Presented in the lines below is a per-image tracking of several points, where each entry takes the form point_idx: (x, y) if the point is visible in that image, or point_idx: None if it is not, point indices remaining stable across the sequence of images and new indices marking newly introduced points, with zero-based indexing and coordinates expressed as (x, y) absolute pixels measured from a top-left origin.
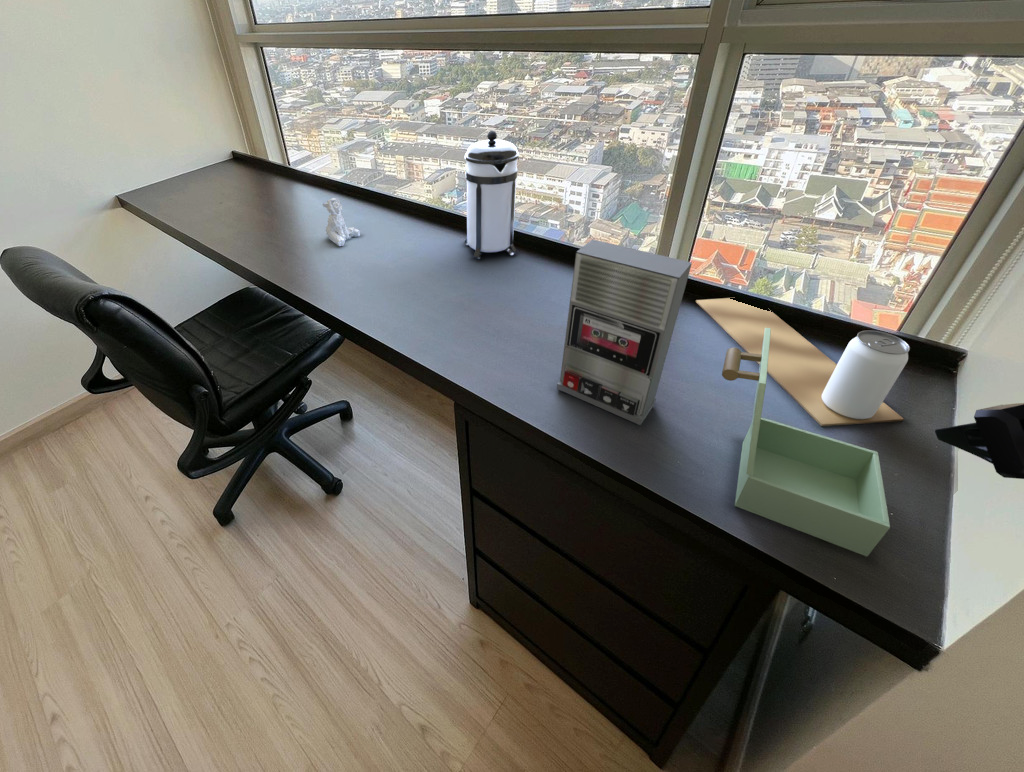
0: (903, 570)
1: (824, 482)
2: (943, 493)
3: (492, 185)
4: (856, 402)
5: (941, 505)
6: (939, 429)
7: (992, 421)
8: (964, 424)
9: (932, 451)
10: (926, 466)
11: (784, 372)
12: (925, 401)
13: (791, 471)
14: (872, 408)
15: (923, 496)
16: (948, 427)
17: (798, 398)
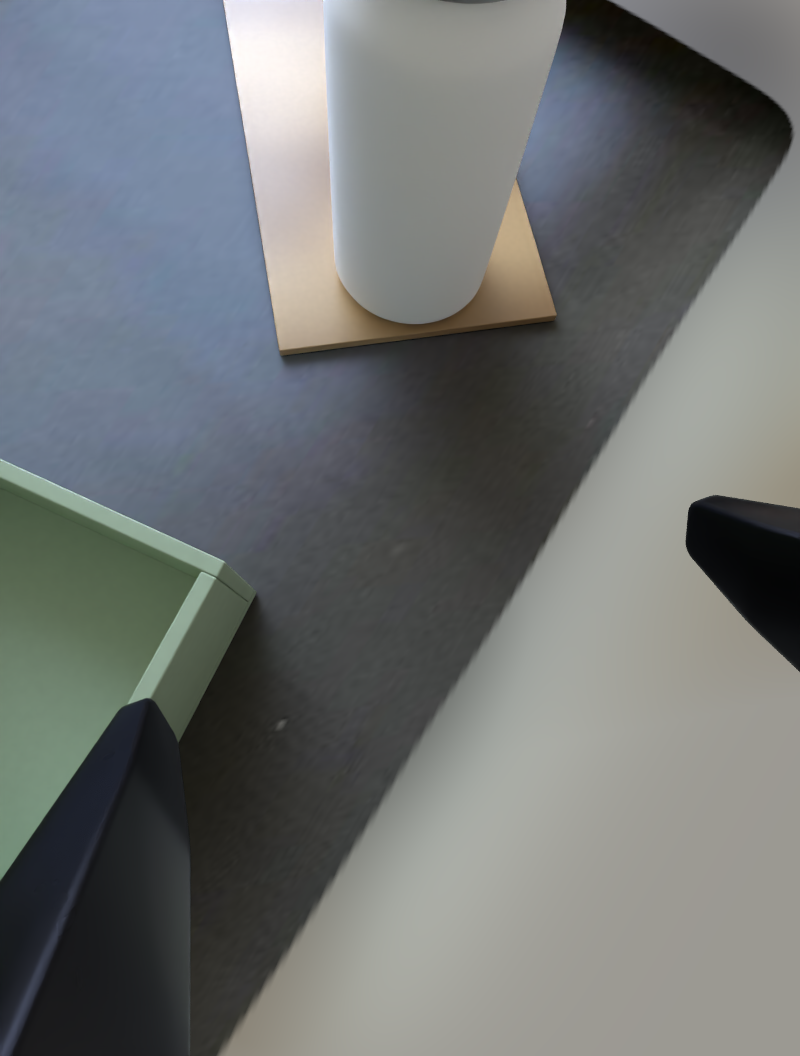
0: None
1: (118, 620)
2: (497, 617)
3: None
4: (379, 269)
5: (461, 669)
6: (104, 735)
7: None
8: (52, 898)
9: (567, 443)
10: (513, 507)
11: (293, 120)
12: (668, 238)
13: (29, 578)
14: (437, 291)
15: (428, 636)
16: (51, 810)
17: (269, 236)
